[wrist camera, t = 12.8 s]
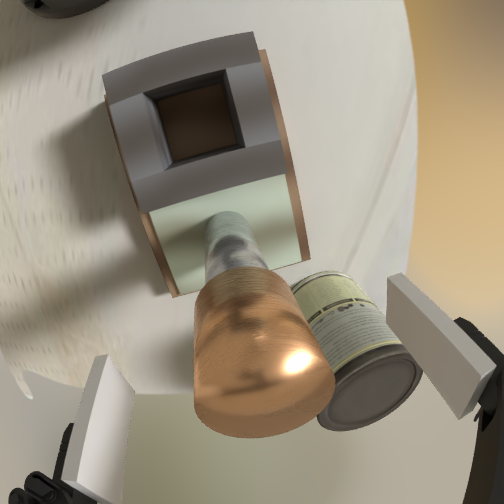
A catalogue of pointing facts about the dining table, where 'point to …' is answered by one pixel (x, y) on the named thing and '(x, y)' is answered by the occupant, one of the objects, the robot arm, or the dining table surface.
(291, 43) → the dining table surface
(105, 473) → the robot arm
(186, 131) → the board
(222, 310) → the peg
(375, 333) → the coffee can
